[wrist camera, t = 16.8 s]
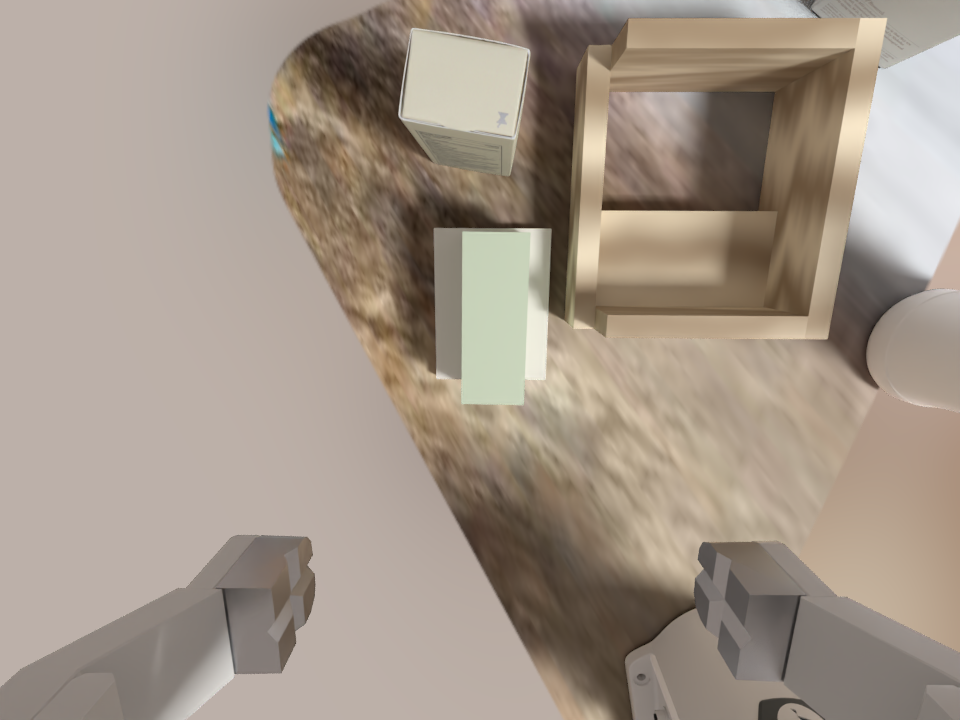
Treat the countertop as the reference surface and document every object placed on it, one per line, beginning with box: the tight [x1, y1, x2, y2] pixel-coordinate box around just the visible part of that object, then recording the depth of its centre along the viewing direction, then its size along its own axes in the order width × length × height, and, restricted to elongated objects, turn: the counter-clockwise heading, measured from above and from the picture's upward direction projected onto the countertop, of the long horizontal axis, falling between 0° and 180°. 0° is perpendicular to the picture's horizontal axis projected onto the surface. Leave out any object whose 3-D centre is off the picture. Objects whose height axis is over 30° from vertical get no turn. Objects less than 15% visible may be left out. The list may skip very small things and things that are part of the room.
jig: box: [565, 18, 887, 339], centre depth 32 cm, size 18×16×8 cm
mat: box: [434, 228, 552, 380], centre depth 37 cm, size 12×9×1 cm
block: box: [461, 231, 531, 405], centre depth 34 cm, size 12×4×5 cm, turn 179°
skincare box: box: [398, 28, 530, 176], centre depth 29 cm, size 6×4×12 cm
